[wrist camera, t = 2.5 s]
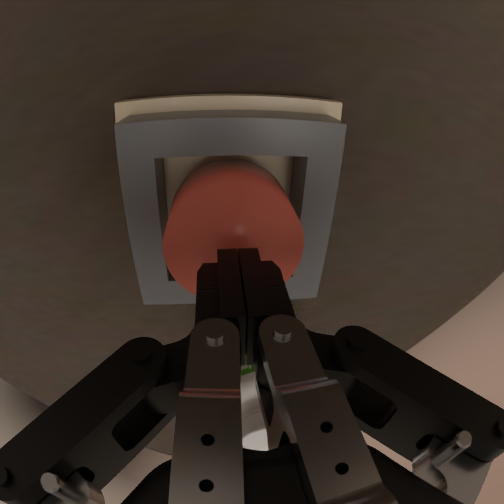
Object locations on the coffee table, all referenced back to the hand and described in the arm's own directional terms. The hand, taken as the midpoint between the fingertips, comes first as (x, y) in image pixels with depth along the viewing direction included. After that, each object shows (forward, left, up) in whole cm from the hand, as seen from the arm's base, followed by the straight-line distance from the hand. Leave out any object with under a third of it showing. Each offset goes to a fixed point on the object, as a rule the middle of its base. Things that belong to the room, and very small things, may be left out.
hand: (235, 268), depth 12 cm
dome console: (0, 0, -7) cm, 7 cm away
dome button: (0, 0, -4) cm, 4 cm away
